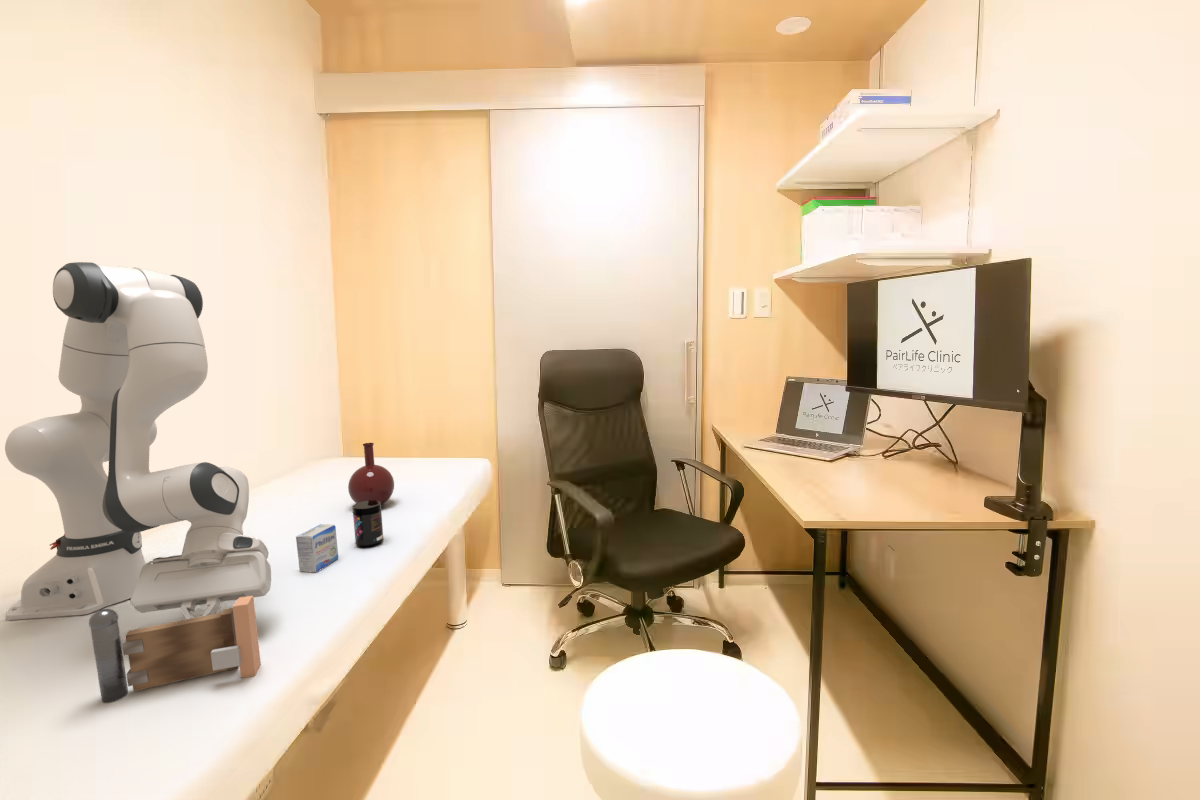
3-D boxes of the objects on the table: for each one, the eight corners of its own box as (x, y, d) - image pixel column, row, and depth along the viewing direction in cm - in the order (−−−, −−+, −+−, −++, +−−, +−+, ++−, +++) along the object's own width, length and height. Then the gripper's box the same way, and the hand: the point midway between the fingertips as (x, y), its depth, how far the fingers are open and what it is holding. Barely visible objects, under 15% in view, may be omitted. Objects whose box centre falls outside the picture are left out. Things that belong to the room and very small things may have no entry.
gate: (128, 692, 82) (120, 634, 81) (133, 685, 84) (125, 628, 83) (237, 668, 88) (230, 613, 86) (239, 661, 89) (233, 607, 88)
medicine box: (315, 573, 123) (312, 536, 122) (298, 572, 124) (295, 535, 123) (339, 558, 131) (336, 524, 129) (322, 557, 131) (319, 523, 130)
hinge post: (96, 705, 80) (82, 617, 78) (108, 691, 83) (95, 606, 81) (122, 700, 81) (109, 613, 79) (133, 686, 84) (121, 603, 82)
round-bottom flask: (359, 501, 175) (354, 440, 173) (400, 499, 176) (396, 438, 174) (343, 514, 162) (337, 449, 160) (388, 512, 163) (383, 447, 161)
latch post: (214, 685, 84) (205, 612, 82) (223, 671, 88) (214, 601, 86) (253, 678, 86) (245, 606, 84) (260, 664, 89) (253, 595, 88)
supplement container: (364, 538, 143) (361, 500, 142) (388, 538, 143) (385, 500, 141) (350, 548, 137) (346, 508, 135) (375, 549, 136) (372, 509, 135)
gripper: (136, 552, 94) (112, 634, 86) (269, 537, 100) (258, 613, 92) (151, 566, 99) (130, 645, 91) (278, 551, 105) (268, 624, 97)
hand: (196, 629), depth 92 cm, fingers closed
